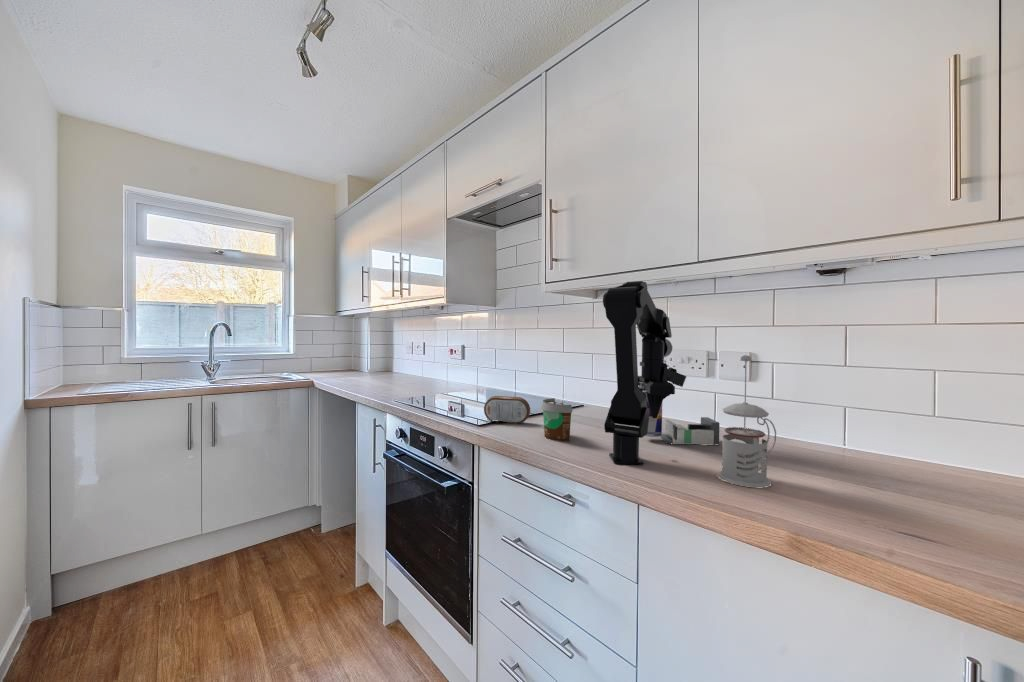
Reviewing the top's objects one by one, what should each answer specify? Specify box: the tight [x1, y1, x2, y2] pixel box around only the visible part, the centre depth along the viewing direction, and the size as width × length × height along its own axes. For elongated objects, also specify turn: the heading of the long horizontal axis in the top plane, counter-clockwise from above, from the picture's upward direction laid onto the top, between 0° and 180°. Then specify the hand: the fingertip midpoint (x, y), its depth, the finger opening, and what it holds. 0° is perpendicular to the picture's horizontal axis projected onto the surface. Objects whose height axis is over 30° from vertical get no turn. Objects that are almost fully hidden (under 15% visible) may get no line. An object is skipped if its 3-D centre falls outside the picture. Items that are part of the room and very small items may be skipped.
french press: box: [716, 355, 777, 487], centre depth 81 cm, size 10×12×25 cm
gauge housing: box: [659, 416, 720, 445], centre depth 110 cm, size 7×13×6 cm, turn 87°
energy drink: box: [643, 390, 663, 438], centre depth 111 cm, size 5×5×12 cm
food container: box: [540, 397, 573, 442], centre depth 113 cm, size 12×6×10 cm, turn 17°
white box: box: [664, 419, 688, 440], centre depth 110 cm, size 8×4×4 cm, turn 177°
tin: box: [483, 395, 531, 424], centre depth 131 cm, size 15×3×8 cm, turn 79°
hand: (651, 415), depth 111 cm, fingers closed on energy drink, 5 cm apart
